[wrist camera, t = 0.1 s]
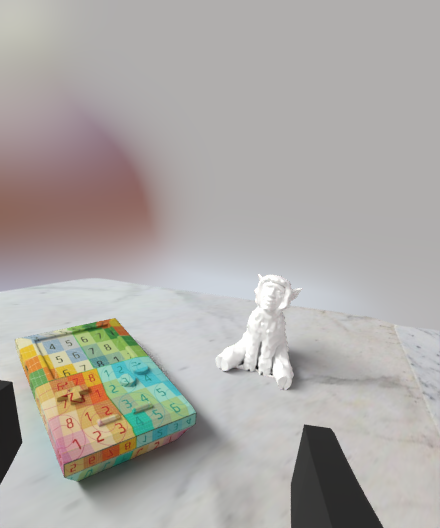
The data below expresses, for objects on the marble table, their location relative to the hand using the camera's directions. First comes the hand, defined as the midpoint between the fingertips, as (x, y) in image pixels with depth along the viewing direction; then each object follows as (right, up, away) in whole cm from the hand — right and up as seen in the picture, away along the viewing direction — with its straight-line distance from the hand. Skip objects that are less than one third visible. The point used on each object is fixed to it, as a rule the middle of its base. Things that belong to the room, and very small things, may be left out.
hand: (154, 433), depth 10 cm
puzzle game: (-11, -11, +33) cm, 36 cm away
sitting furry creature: (+7, -9, +42) cm, 43 cm away
